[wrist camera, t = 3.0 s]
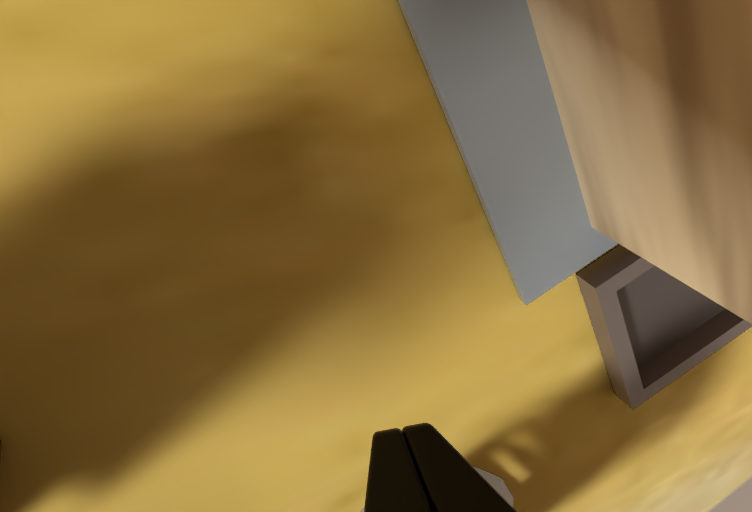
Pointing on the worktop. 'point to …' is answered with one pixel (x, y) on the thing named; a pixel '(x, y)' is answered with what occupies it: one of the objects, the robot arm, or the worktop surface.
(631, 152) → the oak block
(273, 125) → the worktop surface
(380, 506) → the robot arm
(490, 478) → the french press
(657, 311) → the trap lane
